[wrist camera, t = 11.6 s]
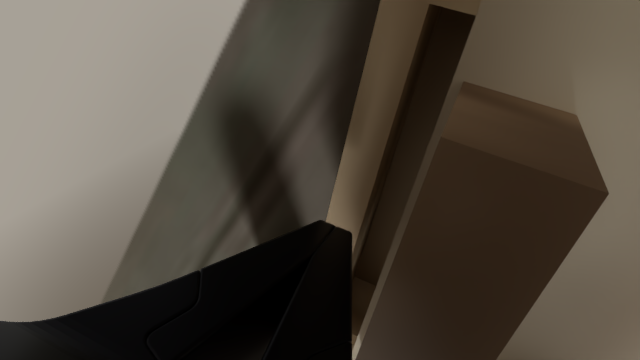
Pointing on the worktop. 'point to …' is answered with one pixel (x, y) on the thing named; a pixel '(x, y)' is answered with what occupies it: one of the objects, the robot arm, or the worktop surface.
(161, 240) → the worktop surface
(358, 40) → the worktop surface
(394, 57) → the wooden box
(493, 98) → the lid
